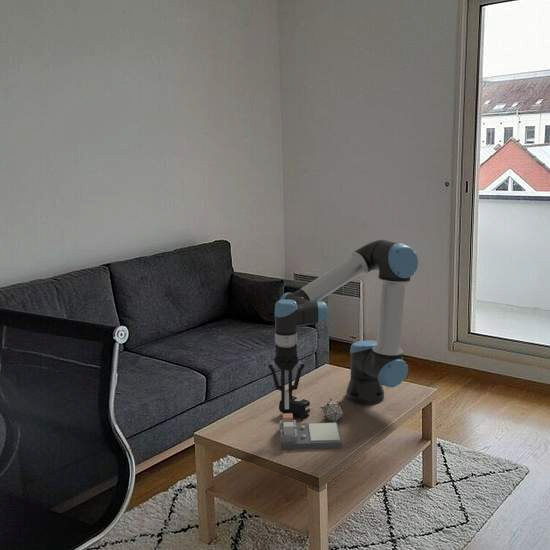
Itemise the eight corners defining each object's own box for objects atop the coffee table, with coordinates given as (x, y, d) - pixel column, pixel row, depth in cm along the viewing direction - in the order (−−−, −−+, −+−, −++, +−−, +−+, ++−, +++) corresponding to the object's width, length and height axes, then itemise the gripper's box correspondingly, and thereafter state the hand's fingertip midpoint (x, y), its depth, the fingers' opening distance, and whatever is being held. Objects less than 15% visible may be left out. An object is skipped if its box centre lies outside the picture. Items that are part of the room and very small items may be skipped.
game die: (338, 429, 248) (354, 411, 245) (323, 428, 243) (339, 410, 239) (326, 411, 254) (342, 393, 250) (312, 410, 248) (327, 392, 245)
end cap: (278, 416, 253) (278, 399, 251) (290, 409, 258) (289, 393, 256) (300, 423, 246) (299, 406, 245) (311, 416, 252) (310, 399, 250)
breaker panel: (337, 427, 242) (337, 417, 241) (341, 447, 227) (341, 436, 226) (279, 429, 242) (279, 418, 241) (280, 449, 227) (280, 438, 226)
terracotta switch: (292, 422, 239) (292, 413, 238) (293, 426, 235) (292, 417, 234) (283, 422, 239) (282, 413, 238) (283, 426, 235) (283, 417, 234)
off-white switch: (293, 431, 232) (293, 421, 231) (293, 435, 228) (293, 426, 228) (283, 431, 232) (283, 422, 231) (283, 436, 228) (283, 426, 228)
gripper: (267, 348, 226) (268, 412, 232) (305, 347, 227) (305, 411, 232) (267, 341, 234) (268, 403, 239) (304, 340, 234) (304, 403, 239)
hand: (286, 407), depth 235 cm, fingers closed
